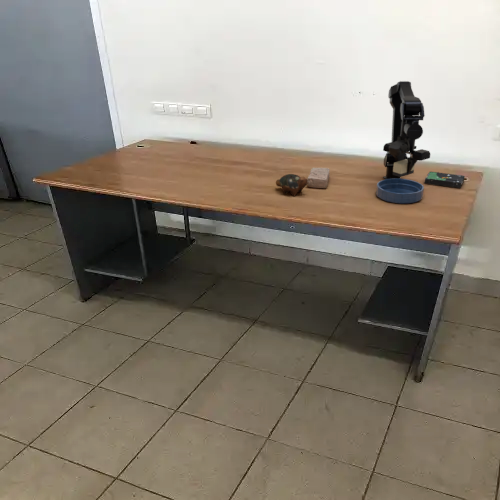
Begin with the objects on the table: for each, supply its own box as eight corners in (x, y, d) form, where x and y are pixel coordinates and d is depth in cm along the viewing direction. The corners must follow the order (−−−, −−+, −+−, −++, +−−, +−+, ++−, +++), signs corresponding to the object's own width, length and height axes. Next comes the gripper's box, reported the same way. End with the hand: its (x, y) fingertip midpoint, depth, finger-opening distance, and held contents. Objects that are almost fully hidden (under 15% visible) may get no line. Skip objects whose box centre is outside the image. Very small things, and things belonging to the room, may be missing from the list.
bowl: (367, 191, 211) (368, 181, 209) (405, 186, 216) (406, 176, 214) (391, 207, 195) (393, 196, 193) (431, 200, 200) (433, 190, 198)
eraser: (400, 177, 199) (401, 164, 197) (392, 174, 202) (393, 162, 200) (413, 173, 203) (415, 161, 201) (405, 170, 206) (407, 158, 204)
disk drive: (463, 181, 220) (428, 176, 226) (464, 175, 219) (429, 170, 225) (460, 189, 212) (424, 183, 218) (461, 182, 210) (425, 177, 217)
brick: (311, 176, 230) (311, 166, 228) (329, 176, 229) (330, 166, 227) (306, 188, 216) (307, 178, 214) (326, 189, 214) (327, 179, 212)
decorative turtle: (303, 199, 205) (301, 180, 201) (271, 195, 213) (269, 176, 209) (313, 190, 212) (312, 172, 208) (282, 187, 220) (280, 169, 216)
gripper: (375, 132, 198) (372, 170, 205) (414, 141, 184) (409, 182, 191) (394, 127, 204) (390, 165, 211) (433, 136, 190) (428, 176, 197)
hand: (403, 172), depth 202 cm, fingers closed on eraser, 4 cm apart
